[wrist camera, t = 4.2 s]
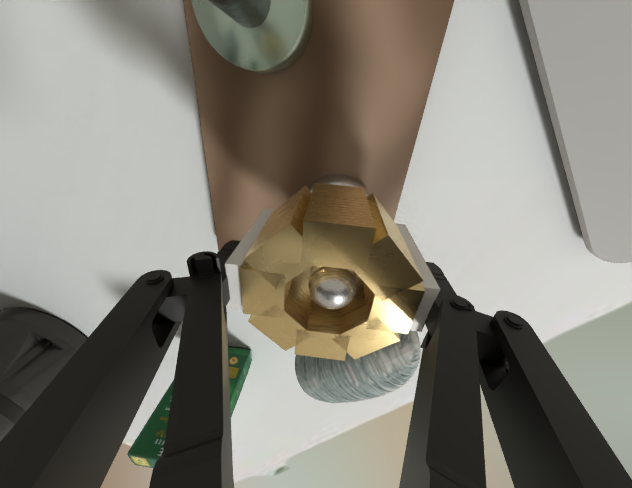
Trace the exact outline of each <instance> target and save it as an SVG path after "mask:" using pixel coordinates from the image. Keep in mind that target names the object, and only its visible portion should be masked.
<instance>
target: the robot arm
mask: <svg viewBox="0 0 632 488" xmlns="http://www.w3.org/2000/svg"><path fill="white" fill-rule="evenodd" d="M274 211H275V210H272V209H263V211H262V212H261V214H260V215H259V216H258V218H257V219H256V221H255V222H254V223H253V225H252V226H251V228H250V229H249V230H248V232H247V233H246V235H245V236H244V237H243V239H242V240H241V241H237V240H231V241H229V242H227V243H226V244H224V246H223V247H222V248H221V250H219V252H218V253H217V254H216V253H213V252H199V253H196V254H193V255H192V256H190V257H189V258H188V260H187V265H188V269H189V274H190V277H182V278H172V276H171V274H170V272H168V271H165V270H155V271H151V272H148V273H146V274H144V275H142V276H141V277H140V278H139V279H138V280H137V281H136V282H135V283H134V284H133V285H132V287H131V288H130V289H129V290H128V291H127V293H126V294H125V295H124V296H123V297H122V298H121V300H120V301H119V302H118V303H117V304H116V306H115V307H114V308H113V309H112V310H111V311H110V313H109V314H108V315H107V316H106V317H105V319H104V320H103V321H102V322H101V323H100V324H99V326H98V327H97V328H96V329H95V330H94V332H93V333H92V334H91V335H90V336H89V337H88V339H87V338H86V337H85V336H84V335H82V334H81V333H80V332H79V331H77V330H76V329H74V328H73V327H71V326H70V325H68V324H66V323H64V322H63V321H61V320H59V319H57V318H54V317H52V316H50V315H47V314H45V313H42V312H38V311H35V310H30V309H25V308H8V309H4V310H2V311H0V488H100V487H101V485H102V483H103V481H104V478H105V476H106V474H107V472H108V470H109V468H110V466H111V464H112V462H113V460H114V458H115V456H116V454H117V452H118V450H119V448H120V446H121V444H122V442H123V440H124V438H125V436H126V434H127V432H128V430H129V427H130V425H131V423H132V421H133V419H134V417H135V415H136V413H137V411H138V409H139V407H140V405H141V403H142V401H143V399H144V397H145V395H146V393H147V391H148V389H149V387H150V385H151V383H152V381H153V378H154V376H155V374H156V372H157V370H158V368H159V366H160V364H161V362H162V360H163V358H164V356H165V354H166V352H167V350H168V348H169V346H170V344H171V342H172V340H173V338H174V336H175V334H176V331H177V329H178V327H179V325H180V323H181V321H183V325H182V332H181V338H180V345H179V351H178V358H177V364H176V371H175V378H174V384H173V391H172V397H171V404H170V410H169V417H168V423H167V430H166V437H165V443H164V448H163V452H162V455H161V457H160V458H159V459H158V460H157V461H156V463H155V466H154V468H153V473H152V477H151V481H150V487H149V488H234V481H233V466H232V440H231V414H230V388H229V362H228V336H227V312H226V305H227V303H228V302H229V300H230V308H235V309H243V305H242V294H241V283H240V273H239V268H240V267H241V265H242V263H243V262H244V260H243V259H244V257H245V256H246V254H247V253H248V251H249V249H250V248H251V246H252V244H253V243H254V241H255V240H256V238H257V236H258V235H259V233H260V231H261V230H262V228H263V227H264V225H265V223H266V222H267V220H268V218H269V217H270V215H271V214H272V213H273V212H274ZM395 224H396V223H395ZM396 225H397V226H398V228H399V230H400V232H401V234H402V236H403V238H404V240H405V243H406V245H407V247H408V249H409V251H410V253H411V255H412V257H413V259H414V261H415V263H416V265H417V267H418V270H419V272H420V274H421V276H422V278H423V280H424V281H423V282H421V283H422V285H423V287H424V289H425V293H424V295H423V298H422V300H421V303H420V305H419V307H418V310H417V312H416V315H415V317H414V320H413V322H412V324H411V327H410V329H409V330H412V331H420V332H421V331H422V329H423V327H424V325H425V324H426V326H427V329H428V332H427V334H426V336H425V338H424V340H423V342H422V345H421V348H423V352H422V358H421V364H420V369H419V375H418V381H417V387H416V393H415V399H414V405H413V410H412V416H411V422H410V428H409V433H408V439H407V445H406V451H405V457H404V463H403V468H402V475H401V481H400V486H399V488H486V476H485V459H484V443H483V428H482V411H481V396H480V385H481V388H482V391H483V394H484V397H485V400H486V403H487V406H488V409H489V412H490V415H491V418H492V421H493V424H494V427H495V430H496V433H497V436H498V439H499V442H500V445H501V448H502V451H503V454H504V457H505V460H506V463H507V466H508V469H509V472H510V475H511V478H512V481H513V484H514V487H515V488H632V480H631V478H630V476H629V475H628V473H627V472H626V470H625V469H624V467H623V466H622V464H621V463H620V461H619V460H618V458H617V457H616V455H615V454H614V452H613V451H612V449H611V448H610V446H609V445H608V443H607V441H606V440H605V438H604V437H603V435H602V434H601V432H600V431H599V429H598V428H597V426H596V425H595V423H594V422H593V420H592V419H591V417H590V416H589V414H588V413H587V411H586V409H585V408H584V406H583V405H582V403H581V402H580V400H579V399H578V397H577V396H576V394H575V393H574V391H573V390H572V388H571V387H570V385H569V384H568V382H567V381H566V379H565V377H564V376H563V374H562V373H561V371H560V370H559V368H558V367H557V365H556V364H555V362H554V361H553V359H552V358H551V356H550V355H549V353H548V352H547V350H546V349H545V347H544V345H543V344H542V342H541V341H540V339H539V338H538V336H537V335H536V333H535V332H534V330H533V329H532V327H531V326H530V325H529V324H528V322H527V321H525V320H524V319H523V318H521V317H520V316H518V315H516V314H514V313H511V312H508V311H497V312H496V314H495V316H494V317H492V316H488V315H485V314H482V313H479V312H477V311H475V309H474V306H473V305H472V304H471V303H470V302H469V301H467V300H466V299H464V298H462V297H460V296H457V295H456V293H455V291H454V290H453V288H452V287H451V285H450V283H449V282H448V281H447V278H446V277H445V276H444V274H443V272H442V270H441V269H440V268H439V267H438V266H437V265H435V264H434V263H430V262H425V260H424V258H423V256H422V255H421V253H420V251H419V249H418V247H417V246H416V244H415V242H414V240H413V238H412V236H411V235H410V233H409V231H408V229H407V227H406V225H404V224H396Z"/></svg>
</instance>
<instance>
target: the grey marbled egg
mask: <svg viewBox="0 0 632 488" xmlns="http://www.w3.org/2000/svg"><path fill="white" fill-rule="evenodd" d="M398 334H399V338H400V341H398V342H396V343H393V344H391V345H388V346H386V347H384V348H381V349H379V350H377V351H374V352H372V353H369V354H367V355H365V356H362V357H360V358H357V359H354V358H353V357H351V356H350V355H349V354H348V353H347V352H346V357H345V361H342V360H334V359H326V358H318V357H311V356H303V355H296V358H295V371H296V376H297V379H298V382H299V384H300V386H301V387H302V389H303V390H304V392H306V393H307V394H308V395H309V396H311V397H313V398H314V399H316V400H320V401H324V402H329V403H348V402H356V401H362V400H368V399H372V398H376V397H379V396H382V395H385V394H388V393H390V392H393V391H395V390H397V389H399V388H400V387H402V386H403V385H404V384H405V383H407V381H408V380H409V379H410V378H411V377H412V376H413V374H414V373H415V371H416V369H417V366H418V364H419V360H420V353H421V351H420V342H419V337H418V334H417V331H412V330H409V332H408V334H404V333H398Z"/></svg>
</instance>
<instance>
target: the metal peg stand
mask: <svg viewBox="0 0 632 488" xmlns="http://www.w3.org/2000/svg"><path fill="white" fill-rule="evenodd" d="M191 2H192V6H193V10H194V13H195V16H196V19H197V21H198V24H199V26H200V28H201V30H202V32H203V34H204V35H205V37H206V39H207V40H208V42H209V43H210V44H211V46H212V47H213V48H214V49H215V50H216V51H217V52H218V53H219V54H220V55H221V56H222V57H223V58H224V59H226V60H227V61H229V62H230V63H232V64H234V65H236V66H238V67H241V68H244V69H247V70H250V71H253V72H255V73H258V74H263V75H274V74H278V73H281V72H283V71H285V70H287V69H289V68H290V67H292V66H293V65H294V64H295V63H296V62H297V61H298V59H299V58H300V57H301V55H302V54H303V52H304V50H305V48H306V46H307V44H308V41H309V38H310V34H311V29H312V20H313V9H312V0H191Z"/></svg>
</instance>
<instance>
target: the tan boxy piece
mask: <svg viewBox="0 0 632 488" xmlns="http://www.w3.org/2000/svg"><path fill="white" fill-rule="evenodd" d="M243 260H244V262H243V263H242V265H241V267H240V268H239V273H240V283H241V294H242V305H243V313H244V314H251V316H250V318H249V321H248V322H250V323H251V324H252V325H253V326H255V327H256V328H257V329H258V330H260V331H261V332H262V333H264V334H265V335H266V336H267V337H269V338H270V339H271V340H272V341H274V342H275V343H276V344H277V345H279V346H280V347H281V348H283V349H284V350H285V351H286V350H288V349H290V348H292V347H293V346H295V355H303V356H311V357H318V358H326V359H334V360H342V361H345V357H346V352H347V353H348V354H349V355H350V356H351V357H353V358H354V359H357V358H360V357H362V356H365V355H367V354H369V353H372V352H374V351H377V350H379V349H381V348H384V347H386V346H388V345H391V344H393V343H396V342H398V341H400V338H399V334H398V333H404V334H408V332H409V329H410V327H411V324H412V322H413V320H414V317H415V315H416V312H417V310H418V307H419V305H420V303H421V300H422V298H423V295H424V293H425V289H424V287H423V285H422V283H421V282H423V281H424V280H423V278H422V276H421V274H420V272H419V270H418V267H417V265H416V263H415V261H414V259H413V257H412V255H411V253H410V251H409V249H408V247H407V245H406V243H405V240H404V238H403V236H402V234H401V232H400V230H399V228H398V226H397V225H396V224H395V222H394V221H393V220H392V218H391V217H390V216H389V214H388V213H387V212H386V210H385V209H384V208H383V206H382V205H381V203H380V202H379V201H378V199H377V198H376V197H375V195H374V194H373V193H371V194H370V195H369V196H367V197H366V193H365V190H364V188H361V187H352V186H342V185H333V184H324V183H315V184H314V188H313V191H312V193H311V191H310V190H309V189H308V188H307V187H306V186H304V187H303V188H302V189H300V190H299V191H298V192H297V193H295V194H294V195H293V196H292V197H291V198H289V199H288V200H287V201H286V202H285V203H283V204H282V205H281V206H280V207H279V208H277V209H276V210H275V211H274V212H273V213H272V214H271V215H270V217H269V218H268V220H267V222H266V223H265V225H264V227H263V228H262V230H261V231H260V233H259V235H258V236H257V238H256V240H255V241H254V243H253V244H252V246H251V248H250V249H249V251H248V253H247V254H246V256H245V257H244V259H243ZM313 265H316V266H324V267H333V268H341V269H350V270H354V272H355V273H356V280H357V289H356V293H355V296H354V298H353V299H352V300H351V302H350V303H349V304H347V305H346V306H344V307H342V308H339V309H326V308H324V307H322V306H320V305H318V304H317V303H316V302H315V301H314V300H313V298H312V297H311V295H310V292H309V286H308V284H309V277H310V272H311V266H313Z"/></svg>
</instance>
